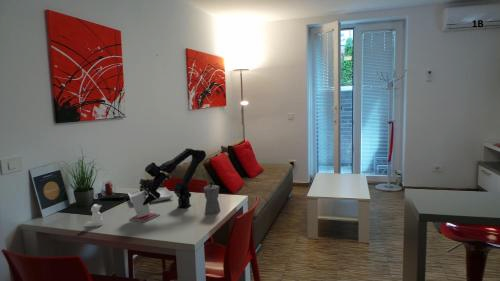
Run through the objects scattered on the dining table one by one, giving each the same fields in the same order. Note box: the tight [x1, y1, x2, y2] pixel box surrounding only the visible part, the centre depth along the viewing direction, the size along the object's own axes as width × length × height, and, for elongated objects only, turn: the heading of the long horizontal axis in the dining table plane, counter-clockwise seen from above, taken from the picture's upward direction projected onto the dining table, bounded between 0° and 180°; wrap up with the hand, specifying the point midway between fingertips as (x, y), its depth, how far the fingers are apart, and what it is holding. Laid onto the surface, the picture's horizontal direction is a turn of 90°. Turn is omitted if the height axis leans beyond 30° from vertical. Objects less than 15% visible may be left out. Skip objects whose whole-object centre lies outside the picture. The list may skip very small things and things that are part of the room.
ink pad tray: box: [128, 212, 160, 223], centre depth 203 cm, size 12×12×1 cm
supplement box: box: [130, 191, 152, 218], centre depth 201 cm, size 7×7×13 cm
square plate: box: [127, 187, 174, 205], centre depth 243 cm, size 27×27×4 cm
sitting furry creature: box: [84, 203, 105, 228], centre depth 194 cm, size 10×9×12 cm
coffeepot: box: [202, 181, 221, 215], centre depth 208 cm, size 15×9×18 cm, turn 13°
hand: (140, 203), depth 201 cm, fingers closed on supplement box, 9 cm apart
